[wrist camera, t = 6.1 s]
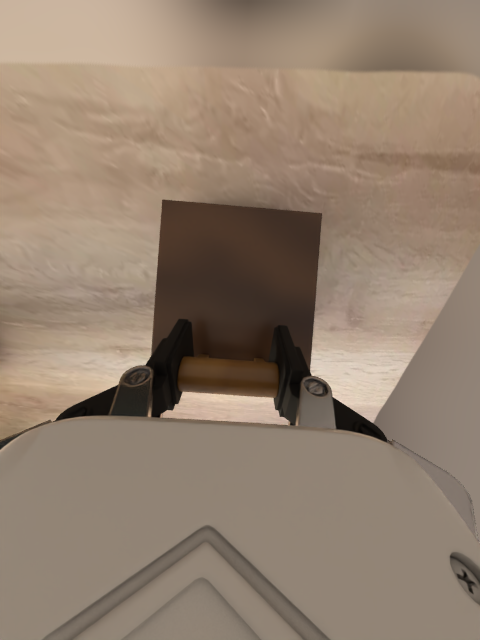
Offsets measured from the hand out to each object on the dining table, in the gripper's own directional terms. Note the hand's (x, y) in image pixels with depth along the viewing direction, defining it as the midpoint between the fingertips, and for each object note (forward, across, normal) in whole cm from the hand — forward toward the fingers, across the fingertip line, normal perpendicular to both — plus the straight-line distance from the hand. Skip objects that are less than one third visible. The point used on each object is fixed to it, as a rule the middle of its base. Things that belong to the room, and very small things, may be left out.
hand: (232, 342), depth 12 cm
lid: (+4, 0, -1) cm, 4 cm away
